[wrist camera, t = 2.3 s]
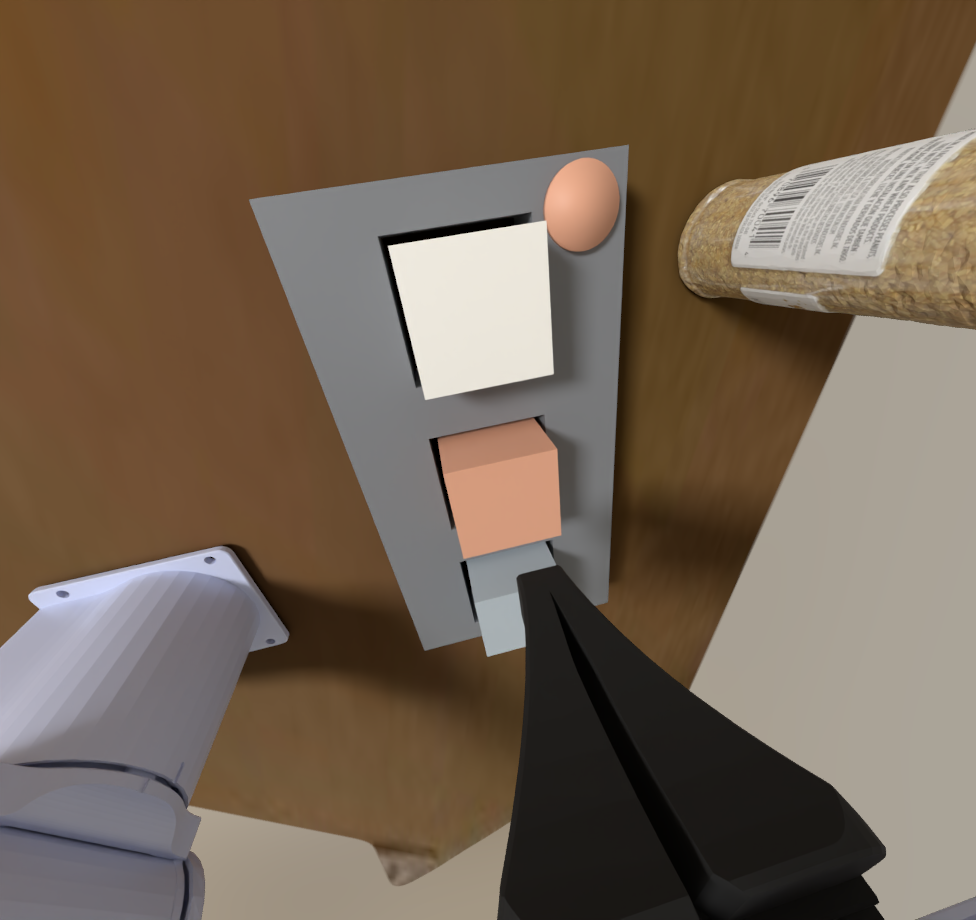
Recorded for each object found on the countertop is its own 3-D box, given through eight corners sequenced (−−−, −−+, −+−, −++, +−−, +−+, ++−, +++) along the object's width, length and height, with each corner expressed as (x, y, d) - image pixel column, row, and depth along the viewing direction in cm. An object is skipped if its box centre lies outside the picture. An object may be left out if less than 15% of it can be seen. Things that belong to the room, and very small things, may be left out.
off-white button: (421, 371, 15) (425, 400, 12) (392, 247, 13) (388, 246, 10) (526, 351, 16) (553, 374, 13) (516, 227, 13) (546, 220, 10)
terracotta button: (455, 512, 19) (463, 559, 16) (436, 435, 17) (443, 474, 14) (538, 492, 19) (561, 535, 17) (531, 415, 17) (557, 448, 14)
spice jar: (700, 317, 18) (1212, 432, 7) (654, 242, 16) (1287, 220, 4) (782, 239, 17) (1570, 215, 5) (744, 148, 15) (1893, -204, 3)
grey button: (477, 605, 23) (487, 656, 20) (464, 553, 21) (474, 603, 18) (546, 587, 23) (566, 635, 20) (541, 534, 21) (563, 580, 18)
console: (423, 616, 25) (424, 655, 22) (274, 208, 13) (244, 198, 11) (591, 573, 26) (610, 606, 24) (595, 161, 14) (633, 142, 12)
